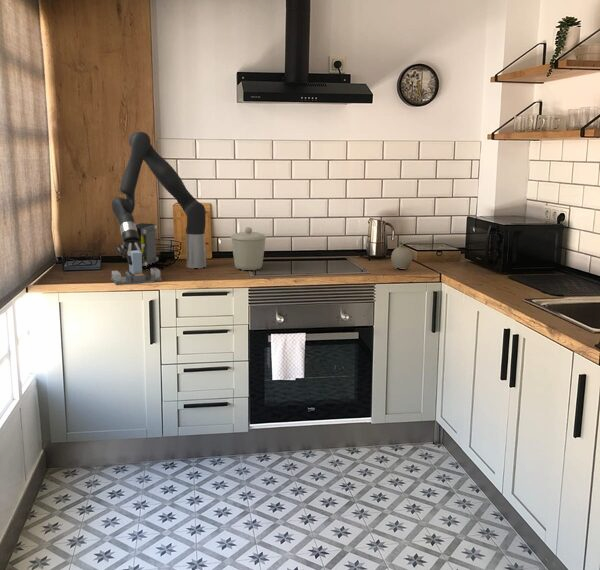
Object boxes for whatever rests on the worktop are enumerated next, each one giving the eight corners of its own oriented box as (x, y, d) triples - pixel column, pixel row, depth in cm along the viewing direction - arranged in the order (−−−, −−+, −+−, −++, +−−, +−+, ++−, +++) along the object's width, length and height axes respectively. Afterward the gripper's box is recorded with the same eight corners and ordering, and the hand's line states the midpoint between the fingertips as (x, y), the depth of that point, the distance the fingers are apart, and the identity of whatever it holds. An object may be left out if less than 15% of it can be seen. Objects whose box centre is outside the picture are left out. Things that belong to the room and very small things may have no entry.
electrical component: (145, 268, 349) (144, 228, 345) (126, 267, 351) (125, 227, 347) (159, 262, 366) (158, 224, 362) (141, 261, 368) (140, 223, 363)
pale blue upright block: (129, 271, 324) (128, 250, 322) (137, 270, 326) (137, 249, 324) (133, 274, 318) (132, 253, 315) (142, 274, 319) (141, 252, 317)
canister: (231, 265, 360) (230, 224, 356) (266, 265, 362) (266, 224, 357) (229, 272, 343) (229, 229, 338) (266, 272, 344) (266, 230, 339)
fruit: (405, 266, 365) (407, 238, 361) (414, 271, 354) (416, 241, 350) (386, 267, 362) (388, 238, 359) (395, 271, 351) (396, 242, 348)
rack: (110, 279, 323) (110, 270, 322) (155, 276, 333) (155, 266, 332) (116, 285, 313) (115, 275, 312) (162, 281, 322) (162, 271, 321)
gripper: (115, 229, 321) (121, 260, 313) (145, 228, 327) (153, 258, 319) (113, 239, 327) (119, 269, 319) (143, 237, 333) (150, 267, 325)
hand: (136, 263), depth 319 cm, fingers closed on pale blue upright block, 4 cm apart
